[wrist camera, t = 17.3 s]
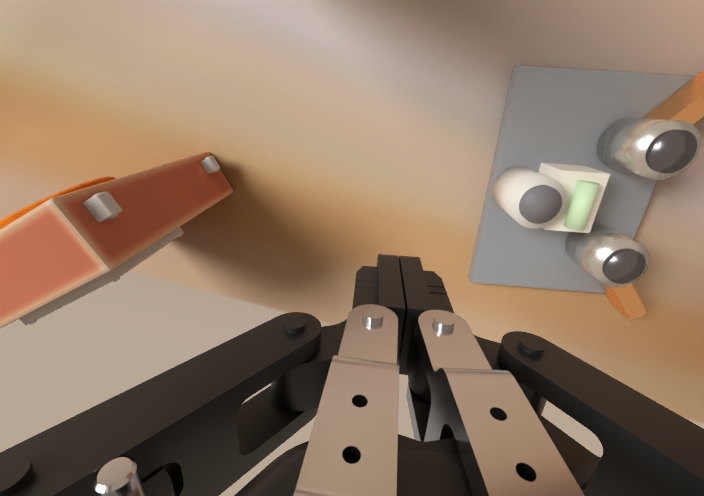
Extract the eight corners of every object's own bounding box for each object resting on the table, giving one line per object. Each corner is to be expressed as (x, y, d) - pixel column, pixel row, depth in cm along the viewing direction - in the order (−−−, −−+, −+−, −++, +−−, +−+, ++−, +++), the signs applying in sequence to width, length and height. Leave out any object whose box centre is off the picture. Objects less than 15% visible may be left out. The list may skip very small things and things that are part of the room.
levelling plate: (513, 66, 35) (551, 57, 28) (686, 77, 34) (773, 70, 27) (468, 276, 44) (487, 312, 37) (603, 287, 44) (650, 325, 36)
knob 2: (612, 177, 37) (659, 192, 31) (586, 143, 36) (630, 152, 30) (730, 89, 33) (810, 87, 27) (706, 48, 32) (783, 35, 26)
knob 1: (557, 237, 40) (590, 261, 34) (600, 213, 39) (643, 234, 32) (598, 310, 43) (635, 344, 37) (640, 290, 42) (685, 322, 36)
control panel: (118, 196, 43) (214, 139, 40) (153, 242, 45) (247, 193, 42) (-98, 275, 24) (55, 177, 20) (-16, 351, 26) (134, 274, 22)
